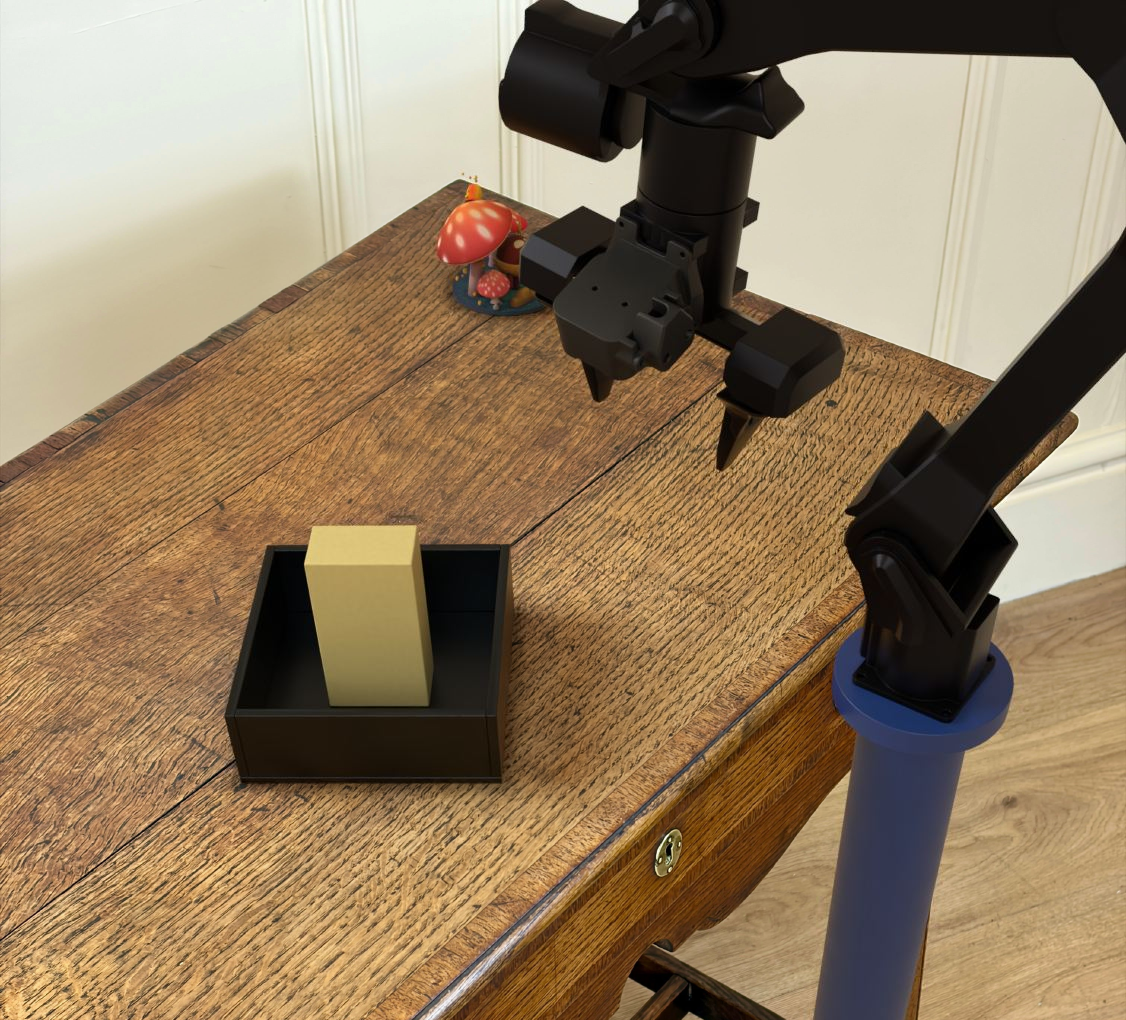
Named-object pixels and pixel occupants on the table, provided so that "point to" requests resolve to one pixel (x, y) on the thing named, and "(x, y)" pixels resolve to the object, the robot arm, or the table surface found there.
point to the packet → (371, 614)
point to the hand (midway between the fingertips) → (661, 432)
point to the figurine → (486, 256)
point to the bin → (376, 733)
